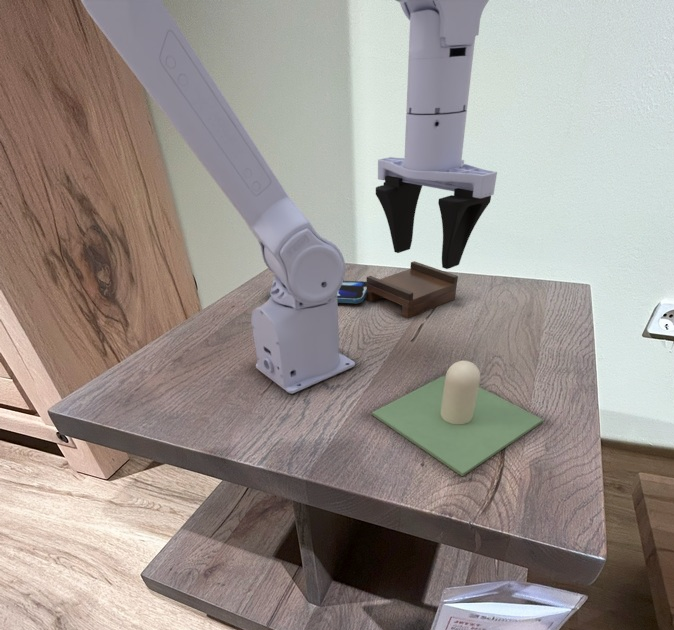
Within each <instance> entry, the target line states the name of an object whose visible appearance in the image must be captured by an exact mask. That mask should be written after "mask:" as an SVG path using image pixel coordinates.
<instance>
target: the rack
mask: <svg viewBox="0 0 674 630" xmlns="http://www.w3.org/2000/svg"><path fill="white" fill-rule="evenodd" d="M366 281H367V290H366V297H365V299H366V301H369V302H371V303H373V302H375V301H378V300H381V299H383V298H384V299H387V300H389V301H391V302H393V303H396V304H398V305H400V306H402V309H401V310H402V311H401V316H402V317H404V318H406V319H410V318H412V317H414V316H417V315H419V314H422V313H424V312H427V311H429V310H431V309H434V308H437V307H439V306H441V305H444V304H447V303H449V302H451V301H453V300H455V299H456V295H457V286H458V281H459V276H458V275H457V274H453V273H450V272H447V271H444V270H441V269H438V268H435V267H432V266H430V265H427V264H424V263H421V262H419V261H418V262H417V261H415V260H414V261H411V262H410V268H409V269H406V270H403V271H400V272H397V273H394V274H390V275H388V276H385V277H381V278H378V277H375V276H372V275H368V276H366Z"/></svg>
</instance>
